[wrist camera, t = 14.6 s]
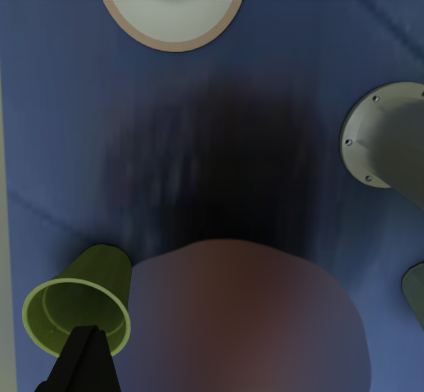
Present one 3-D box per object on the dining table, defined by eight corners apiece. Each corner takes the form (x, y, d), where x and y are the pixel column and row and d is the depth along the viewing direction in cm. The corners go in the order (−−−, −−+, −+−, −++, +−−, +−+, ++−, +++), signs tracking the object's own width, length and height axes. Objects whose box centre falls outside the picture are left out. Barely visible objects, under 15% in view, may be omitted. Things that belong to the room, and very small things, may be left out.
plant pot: (86, 212, 44) (49, 259, 34) (163, 256, 47) (150, 313, 37) (48, 274, 48) (3, 334, 38) (121, 312, 51) (99, 378, 40)
